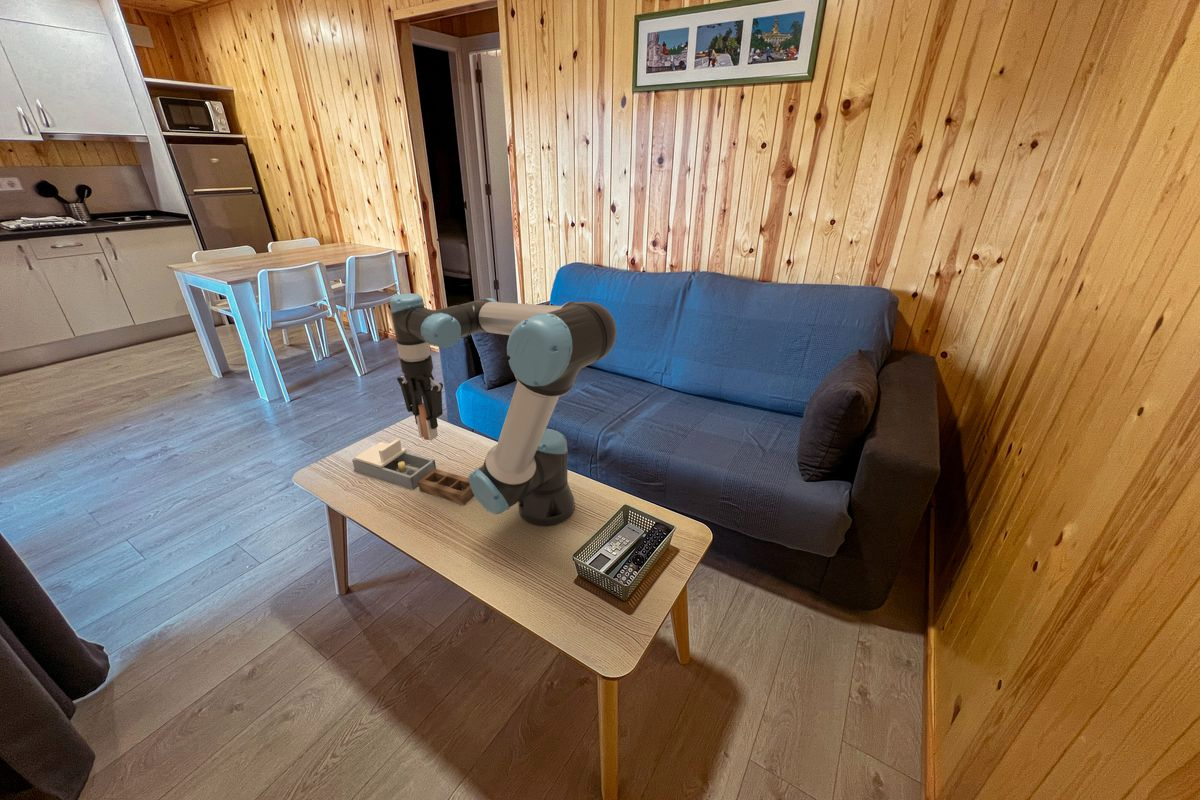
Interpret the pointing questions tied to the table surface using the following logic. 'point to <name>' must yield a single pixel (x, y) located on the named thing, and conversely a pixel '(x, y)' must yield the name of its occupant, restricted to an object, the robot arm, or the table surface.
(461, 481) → the wooden compartment rack
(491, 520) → the table surface
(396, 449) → the lid
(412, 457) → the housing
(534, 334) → the robot arm
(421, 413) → the pin
